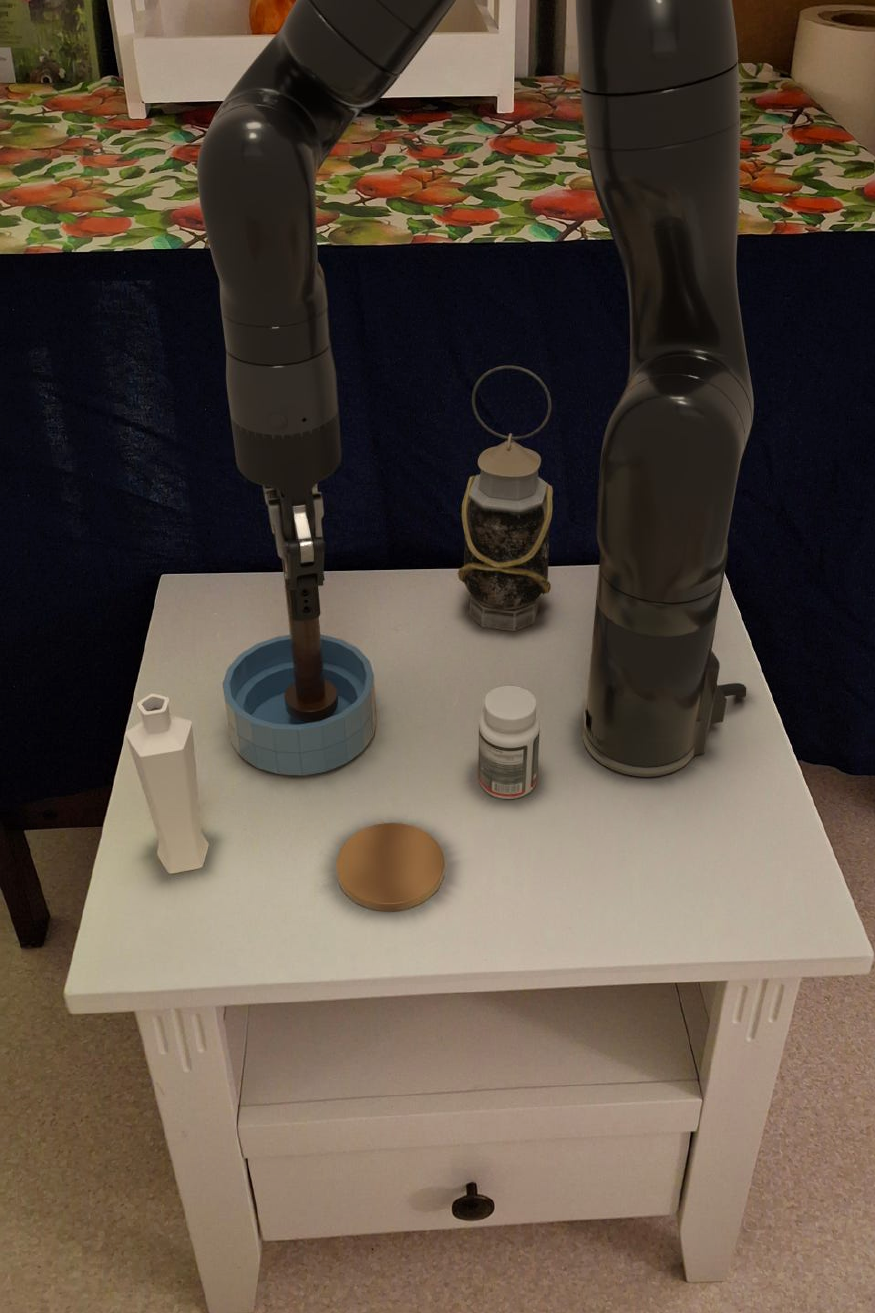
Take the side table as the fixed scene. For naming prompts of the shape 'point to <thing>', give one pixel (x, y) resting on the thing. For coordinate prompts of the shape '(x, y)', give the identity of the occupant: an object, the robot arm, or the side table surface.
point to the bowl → (282, 739)
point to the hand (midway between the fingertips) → (303, 605)
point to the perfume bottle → (169, 783)
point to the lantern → (506, 531)
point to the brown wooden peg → (308, 672)
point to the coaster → (390, 866)
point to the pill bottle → (508, 743)
